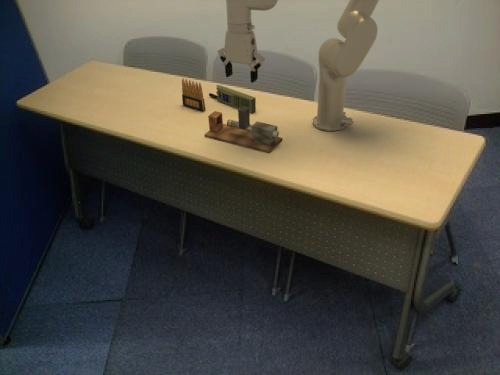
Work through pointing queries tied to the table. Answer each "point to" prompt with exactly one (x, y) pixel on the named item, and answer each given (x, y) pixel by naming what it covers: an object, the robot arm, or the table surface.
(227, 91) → the handheld radio
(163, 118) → the table surface
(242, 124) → the tube
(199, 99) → the ammunition clip
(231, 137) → the tube stand
